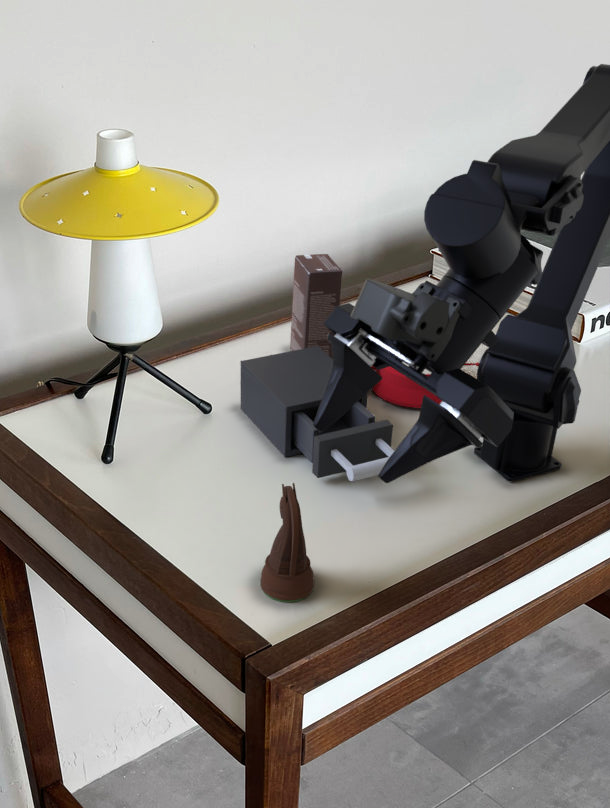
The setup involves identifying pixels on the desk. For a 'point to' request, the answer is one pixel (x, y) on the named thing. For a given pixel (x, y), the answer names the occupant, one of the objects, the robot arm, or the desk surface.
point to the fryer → (284, 391)
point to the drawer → (344, 442)
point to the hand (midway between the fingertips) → (348, 453)
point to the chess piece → (288, 555)
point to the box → (314, 300)
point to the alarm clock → (403, 388)
